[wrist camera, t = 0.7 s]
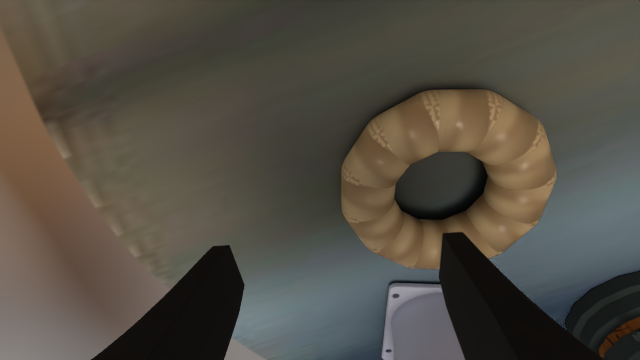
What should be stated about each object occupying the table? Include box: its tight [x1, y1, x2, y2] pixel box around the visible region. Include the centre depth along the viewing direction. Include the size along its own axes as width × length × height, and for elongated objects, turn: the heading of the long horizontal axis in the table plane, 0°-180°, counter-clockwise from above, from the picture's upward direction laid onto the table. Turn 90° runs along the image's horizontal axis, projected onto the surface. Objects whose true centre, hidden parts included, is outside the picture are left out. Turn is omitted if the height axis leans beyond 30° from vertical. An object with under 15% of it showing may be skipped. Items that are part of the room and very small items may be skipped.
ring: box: [341, 89, 557, 269], centre depth 18 cm, size 11×11×3 cm
